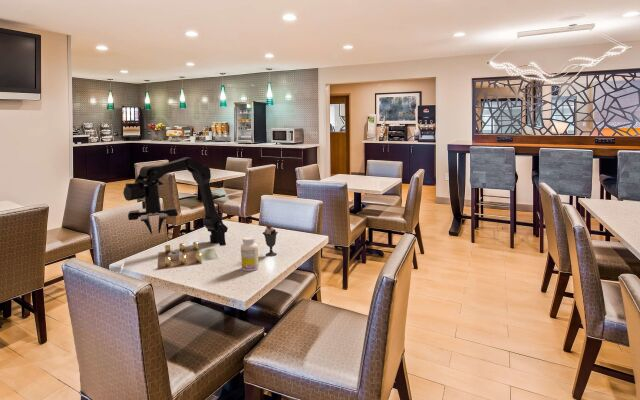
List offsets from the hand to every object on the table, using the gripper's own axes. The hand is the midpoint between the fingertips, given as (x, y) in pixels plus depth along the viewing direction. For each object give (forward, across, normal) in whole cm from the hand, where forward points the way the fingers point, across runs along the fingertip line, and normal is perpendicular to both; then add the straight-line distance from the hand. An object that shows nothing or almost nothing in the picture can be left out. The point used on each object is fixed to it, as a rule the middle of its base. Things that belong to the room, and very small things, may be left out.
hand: (155, 233), depth 168 cm
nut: (+12, -7, 0) cm, 14 cm away
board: (+13, -11, 0) cm, 17 cm away
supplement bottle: (+13, -35, +22) cm, 43 cm away
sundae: (+13, -47, +8) cm, 49 cm away
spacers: (+12, -10, 0) cm, 15 cm away
